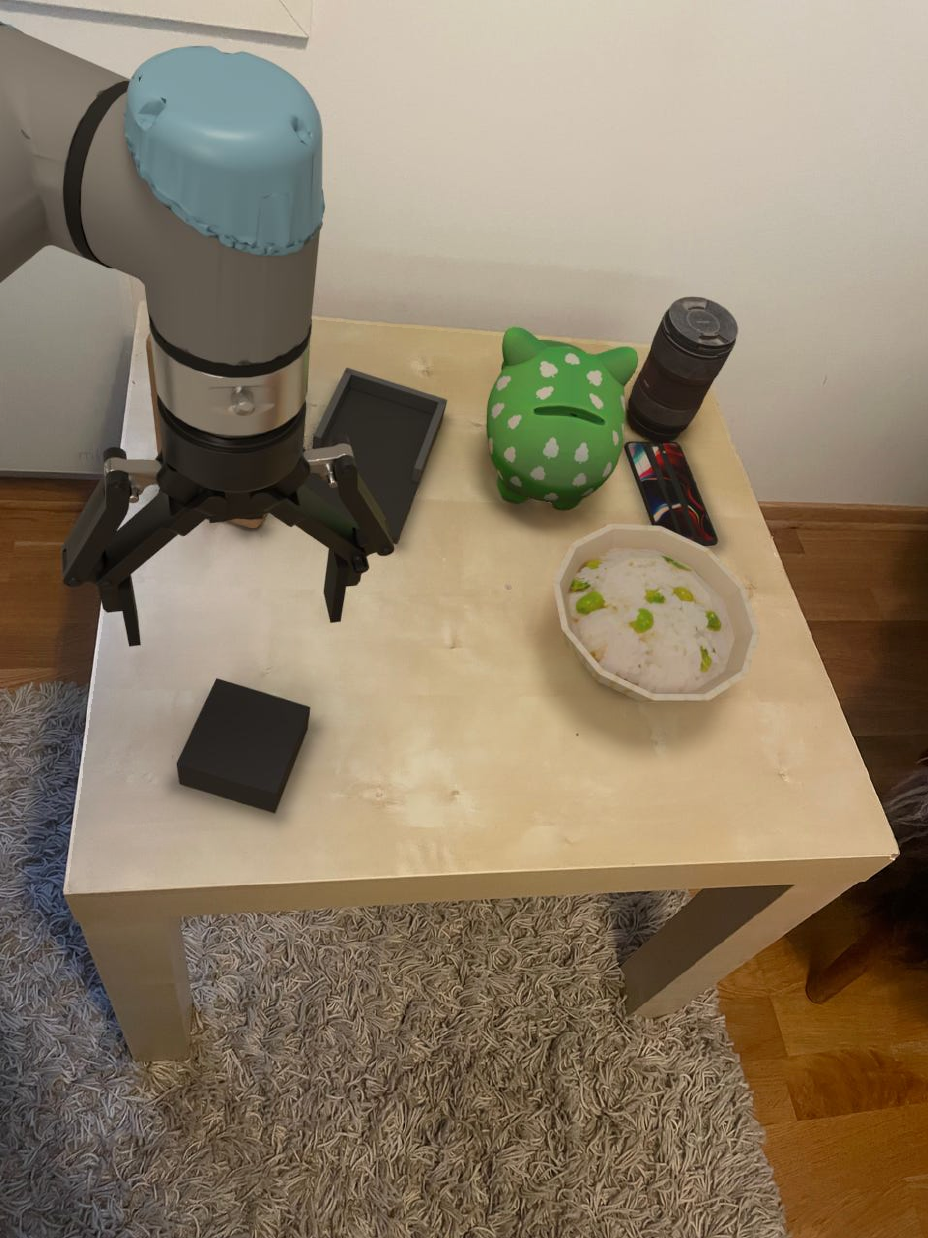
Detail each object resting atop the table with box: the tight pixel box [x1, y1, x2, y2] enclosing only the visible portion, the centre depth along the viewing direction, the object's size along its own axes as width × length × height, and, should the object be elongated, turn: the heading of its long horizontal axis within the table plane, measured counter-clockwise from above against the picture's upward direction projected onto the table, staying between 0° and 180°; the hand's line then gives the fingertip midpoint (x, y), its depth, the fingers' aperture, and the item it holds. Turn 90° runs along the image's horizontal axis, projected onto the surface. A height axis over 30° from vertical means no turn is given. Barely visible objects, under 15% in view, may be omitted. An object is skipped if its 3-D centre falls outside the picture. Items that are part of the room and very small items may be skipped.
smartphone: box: [623, 440, 719, 547], centre depth 103 cm, size 7×1×15 cm
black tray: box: [303, 367, 448, 544], centre depth 96 cm, size 19×11×3 cm, turn 166°
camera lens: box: [626, 296, 739, 442], centre depth 103 cm, size 8×8×15 cm
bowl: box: [552, 523, 761, 703], centre depth 85 cm, size 19×19×10 cm
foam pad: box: [176, 677, 311, 814], centre depth 75 cm, size 8×8×4 cm
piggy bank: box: [485, 326, 639, 511], centre depth 95 cm, size 14×18×15 cm
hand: (235, 618), depth 65 cm, fingers open, 13 cm apart
